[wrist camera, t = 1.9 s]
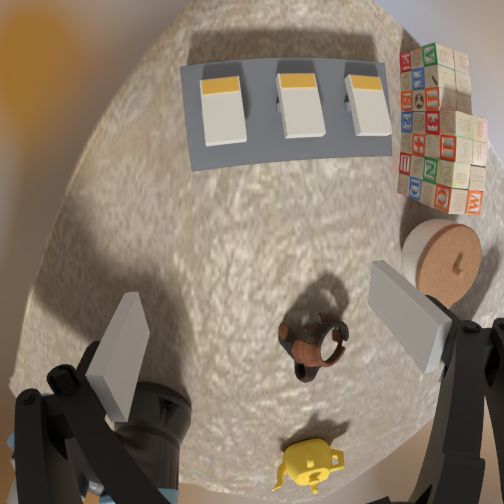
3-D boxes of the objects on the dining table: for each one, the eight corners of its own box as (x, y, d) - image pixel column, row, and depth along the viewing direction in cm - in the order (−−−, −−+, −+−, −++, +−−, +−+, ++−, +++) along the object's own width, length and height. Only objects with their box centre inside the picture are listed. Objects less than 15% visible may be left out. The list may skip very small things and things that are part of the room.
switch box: (195, 167, 37) (191, 172, 32) (184, 73, 33) (179, 62, 27) (373, 153, 39) (395, 156, 33) (366, 67, 34) (387, 59, 29)
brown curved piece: (277, 305, 46) (316, 320, 39) (319, 299, 51) (358, 311, 45) (268, 375, 47) (303, 398, 40) (310, 363, 52) (344, 381, 46)
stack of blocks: (397, 53, 34) (450, 36, 22) (430, 63, 34) (484, 52, 23) (396, 193, 41) (449, 215, 30) (428, 195, 42) (481, 216, 30)
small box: (206, 146, 30) (205, 142, 28) (200, 85, 29) (199, 79, 27) (246, 141, 30) (247, 137, 28) (238, 81, 29) (239, 75, 28)
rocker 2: (356, 135, 31) (361, 132, 29) (344, 79, 30) (349, 73, 28) (386, 136, 31) (393, 132, 29) (374, 81, 30) (380, 76, 29)
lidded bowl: (375, 271, 45) (411, 306, 35) (408, 196, 42) (454, 216, 31) (427, 289, 48) (463, 321, 38) (457, 224, 44) (500, 246, 34)
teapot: (265, 458, 61) (271, 492, 51) (301, 429, 58) (312, 466, 48) (307, 466, 65) (315, 496, 55) (343, 439, 61) (356, 471, 52)
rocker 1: (285, 138, 30) (287, 134, 29) (275, 79, 29) (277, 73, 28) (321, 136, 30) (326, 132, 29) (311, 78, 30) (314, 72, 28)
